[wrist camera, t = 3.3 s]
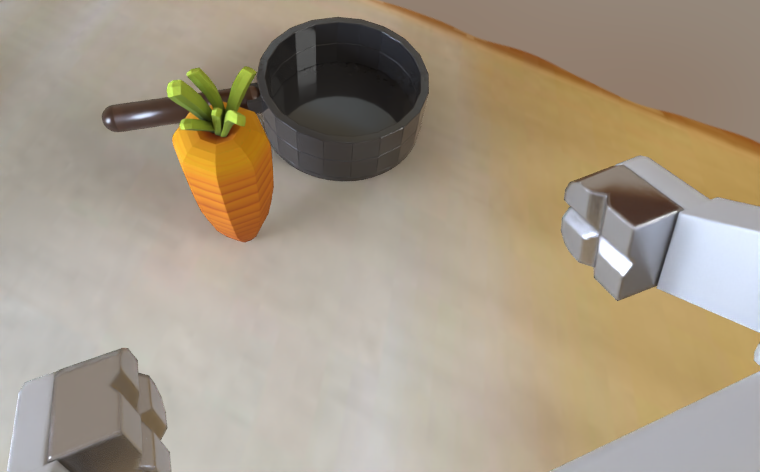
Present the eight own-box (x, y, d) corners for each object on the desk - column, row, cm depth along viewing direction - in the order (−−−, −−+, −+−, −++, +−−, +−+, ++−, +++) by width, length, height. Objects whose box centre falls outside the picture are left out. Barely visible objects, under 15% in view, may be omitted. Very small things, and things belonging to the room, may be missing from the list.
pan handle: (107, 139, 37) (98, 121, 36) (106, 119, 38) (97, 101, 36) (272, 114, 39) (269, 96, 38) (267, 96, 40) (265, 77, 39)
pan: (280, 195, 39) (275, 156, 35) (251, 72, 45) (244, 27, 41) (440, 165, 42) (452, 126, 38) (394, 53, 47) (400, 9, 43)
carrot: (284, 206, 39) (263, 35, 26) (281, 270, 36) (258, 116, 23) (211, 206, 38) (153, 31, 25) (204, 271, 36) (136, 114, 23)
